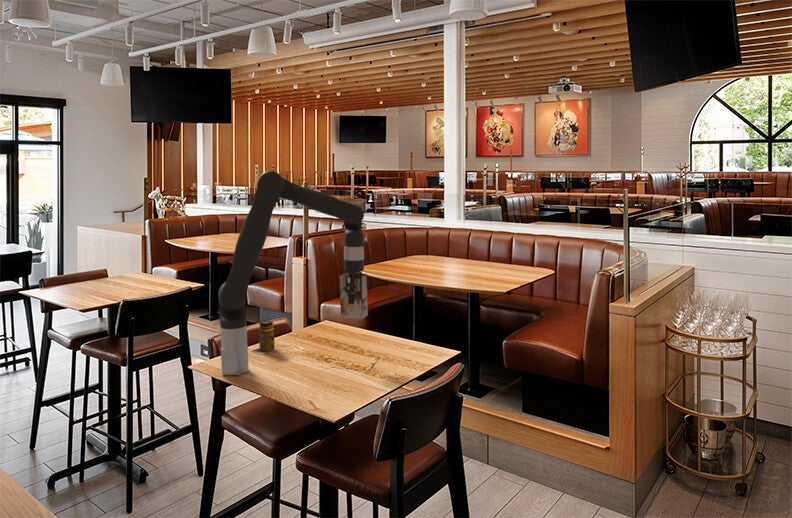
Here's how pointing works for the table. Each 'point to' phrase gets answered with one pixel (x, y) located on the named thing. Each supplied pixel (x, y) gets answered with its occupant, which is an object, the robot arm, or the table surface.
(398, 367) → the table surface
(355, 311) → the coffee box
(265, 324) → the condiment
